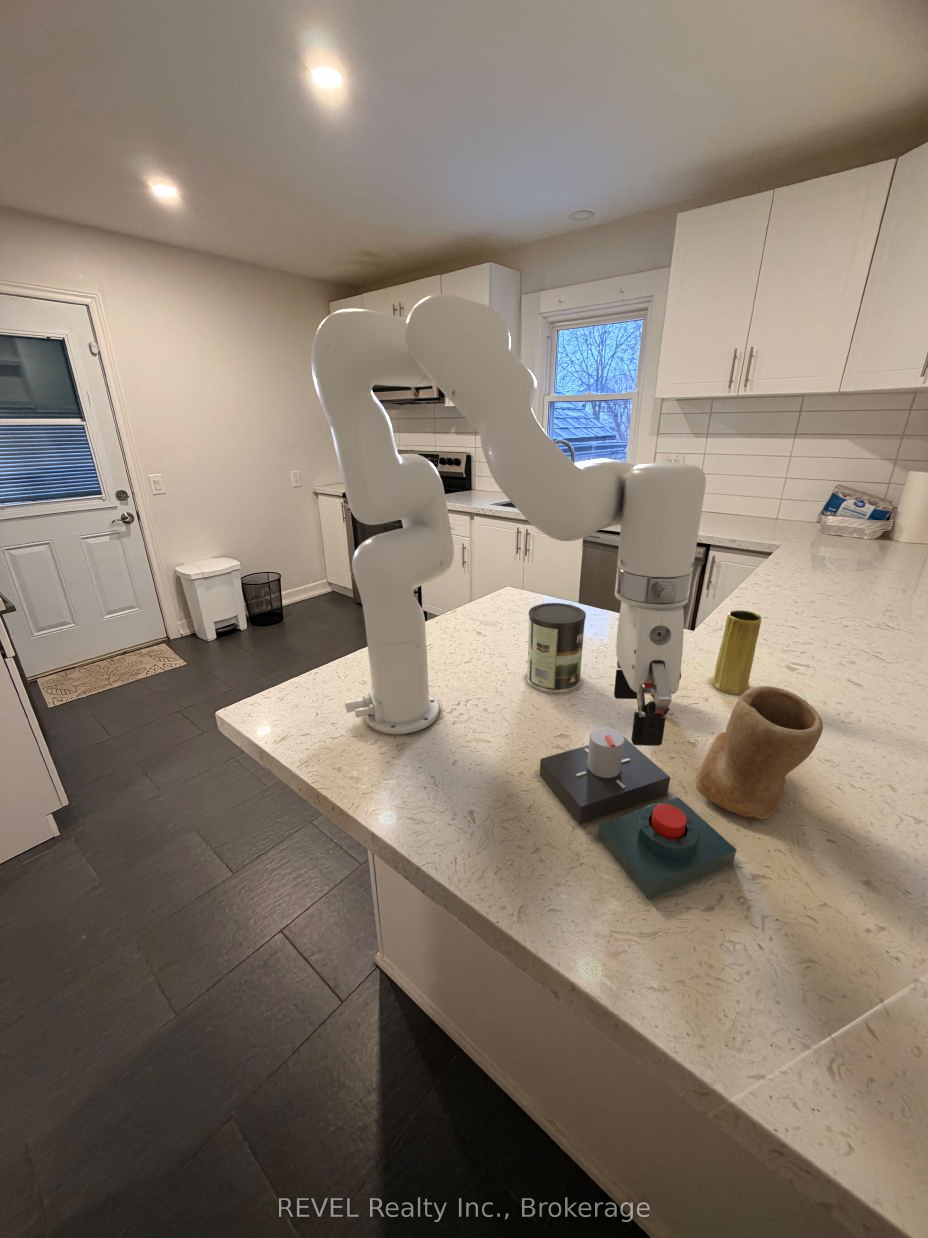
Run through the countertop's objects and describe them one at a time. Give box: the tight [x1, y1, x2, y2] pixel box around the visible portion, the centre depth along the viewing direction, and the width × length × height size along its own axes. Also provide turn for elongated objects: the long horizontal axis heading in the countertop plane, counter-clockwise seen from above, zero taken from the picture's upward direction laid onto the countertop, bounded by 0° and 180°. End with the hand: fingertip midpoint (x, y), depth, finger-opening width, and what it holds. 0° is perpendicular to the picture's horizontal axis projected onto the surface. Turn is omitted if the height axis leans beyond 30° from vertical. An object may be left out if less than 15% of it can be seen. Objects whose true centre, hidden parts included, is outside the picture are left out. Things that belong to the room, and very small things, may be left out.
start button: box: [651, 804, 687, 839], centre depth 56 cm, size 4×4×2 cm
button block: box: [597, 796, 737, 900], centre depth 57 cm, size 12×9×4 cm
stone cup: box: [695, 685, 824, 820], centre depth 65 cm, size 15×12×15 cm
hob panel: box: [539, 736, 671, 826], centre depth 68 cm, size 14×10×3 cm
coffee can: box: [526, 602, 587, 694], centre depth 93 cm, size 10×10×14 cm
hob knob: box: [587, 726, 624, 778], centre depth 66 cm, size 4×4×5 cm
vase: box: [711, 609, 763, 695], centre depth 90 cm, size 6×6×14 cm
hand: (635, 719), depth 60 cm, fingers open, 9 cm apart
